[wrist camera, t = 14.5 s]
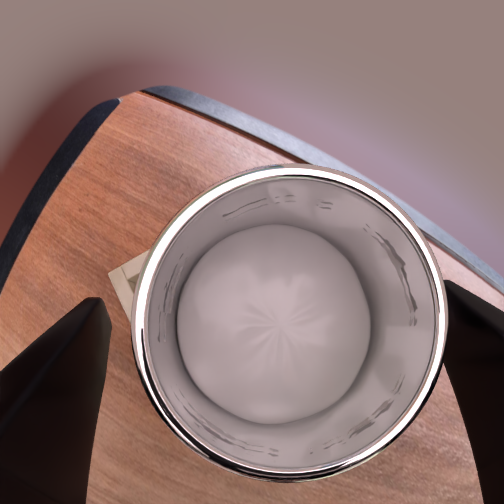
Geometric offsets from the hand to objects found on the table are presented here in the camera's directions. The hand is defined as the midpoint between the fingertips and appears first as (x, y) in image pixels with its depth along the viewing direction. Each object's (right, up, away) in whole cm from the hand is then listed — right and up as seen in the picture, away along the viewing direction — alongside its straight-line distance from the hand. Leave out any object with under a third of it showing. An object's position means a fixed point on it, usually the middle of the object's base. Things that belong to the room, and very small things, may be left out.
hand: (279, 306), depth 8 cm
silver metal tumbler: (0, -3, +13) cm, 13 cm away
